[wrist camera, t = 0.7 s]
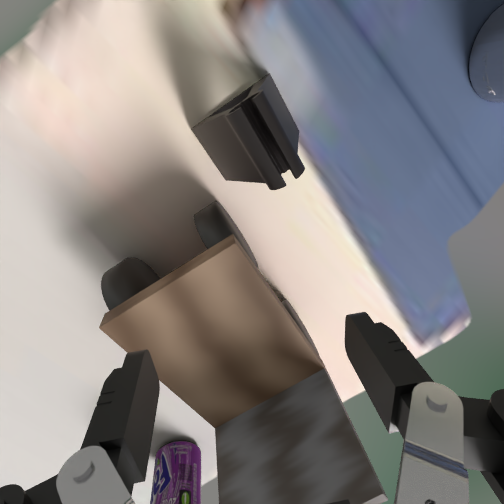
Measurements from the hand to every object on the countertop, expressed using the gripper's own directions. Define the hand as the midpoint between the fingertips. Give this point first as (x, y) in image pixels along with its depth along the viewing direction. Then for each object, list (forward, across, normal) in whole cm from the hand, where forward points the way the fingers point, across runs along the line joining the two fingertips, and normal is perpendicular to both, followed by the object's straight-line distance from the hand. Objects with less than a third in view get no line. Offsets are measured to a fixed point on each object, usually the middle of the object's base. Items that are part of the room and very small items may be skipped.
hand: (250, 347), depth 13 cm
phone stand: (+24, -3, -6) cm, 25 cm away
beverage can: (+23, +14, +42) cm, 50 cm away
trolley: (+24, +2, +13) cm, 27 cm away
